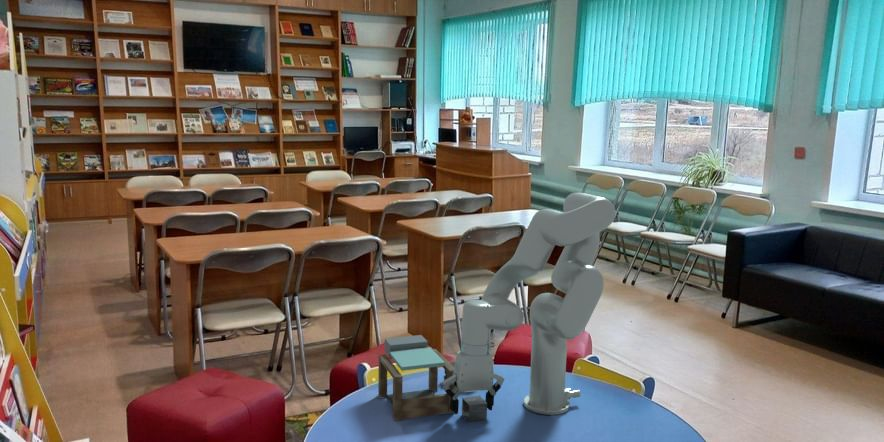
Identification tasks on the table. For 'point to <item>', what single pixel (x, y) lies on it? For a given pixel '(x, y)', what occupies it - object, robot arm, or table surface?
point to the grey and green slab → (412, 353)
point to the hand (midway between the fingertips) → (471, 410)
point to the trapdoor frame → (414, 392)
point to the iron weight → (474, 409)
